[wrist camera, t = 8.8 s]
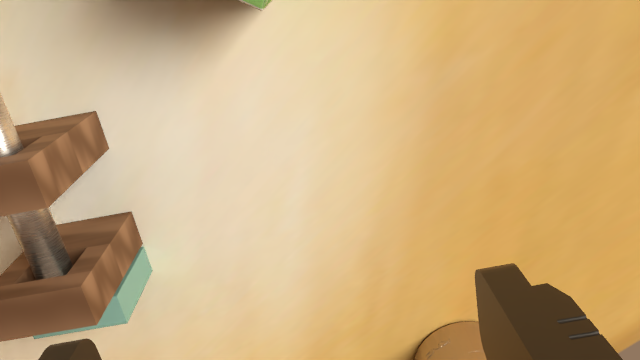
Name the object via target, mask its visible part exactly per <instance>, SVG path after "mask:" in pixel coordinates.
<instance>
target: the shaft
mask: <svg viewBox="0 0 640 360" xmlns="http://www.w3.org/2000/svg"><path fill="white" fill-rule="evenodd" d="M22 149H24V148H23V145H22V143H21V141H20V138H19V136H18V133H17V131H16V129H15V126H14V124H13V122H12V119H11V117H10V114H9V112H8V110H7V107H6V105H5V103H4V100H3V98H2V95H1V93H0V157H5V156H11V155H15V154H17V153H18V152H20V151H21V150H22ZM7 217H8V219H9V221H10V224H11V226H12V228H13V230H14V232H15V235H16V237H17V239H18V241H19V243H20V245H21V248H22V250H23V252H24V254H25V256H26V259H27V261H28V263H29V265H30V267H31V269H32V272H33V274H34V276H35V278H36V280H41V279H47V278H52V277H58V276H64V275H67V273H68V272H69V271H70V269H71V268H72V267H73V264H72V262H71V260H70V257H69V255H68V253H67V250H66V248H65V245H64V243H63V241H62V238H61V236H60V233H59V231H58V229H57V226H56V224H55V222H54V219H53V217H52V214H51V212H50V210H49V207H48V208H45V209H39V210H33V211H28V212H22V213H17V214H11V215H7Z"/></svg>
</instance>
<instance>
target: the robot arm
mask: <svg viewBox="0 0 640 360" xmlns="http://www.w3.org/2000/svg"><path fill="white" fill-rule="evenodd" d="M475 285H476V296H477V308H478V319H479V322H473V321H470V322H458V323H453V324H450V325H447V326H445V327H442V328H440V329H438V330H437V331H435V332H433V333H432V334H431V335H430V336H429V337H427V338H426V339H425V340H424V342H423V343H422V344H421V345H420V347H419V349H418V351H417V353H416V355H415V360H622V358H621V357H620V356H619V355H618V353H617V352H616V351H615V350H614V349H613V347H612V346H611V345H610V344H609V343H608V341H607V340H606V339H605V338H604V336H603V335H600V334H599V330H598V329H597V328H596V327H595V326H594V324H593V323H592V322H591V321H590V320H589V319H587V318H586V315H585V314H584V312H583V311H582V310H581V309H580V308H579V306H578V305H577V304H576V303H575V302H574V300H573V299H572V298H571V297H570V296H568V295H566V294H565V293H563V292H561V291H559V290H558V289H556V288H554V287H553V286H551V285H549V284H547V283H546V284H541V285H535V286H531V285H530V283H529V282H528V281H527V279H526V278H525V277H524V275H523V274H522V272H521V271H520V270H519V268H518V267H517V266H516V265H515V264H513V263H512V264H506V265H501V266H495V267H490V268H484V269H478V270H476V272H475ZM39 360H102V359H101V357H100V355H99V352H98V350H97V348H96V346H95V344H94V343H93V342H92V341H91V340H90V339H82V340H76V341H71V342H65V343H60V344H54V345H50V346H49V347H47V348H46V350H45V351H44V352H43V354H42V355H41V357H40V358H39Z"/></svg>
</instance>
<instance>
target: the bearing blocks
mask: <svg viewBox="0 0 640 360" xmlns="http://www.w3.org/2000/svg"><path fill="white" fill-rule="evenodd" d="M15 129H16V131H17V133H18V136H19V138H20V141H21V143H22V145H23V148H24V149H22V150H21V151H20V152H18V153H17V154H15V155H11V156H5V157H0V216H5V215H11V214H17V213H22V212H28V211H33V210H39V209H45V208H48V207H49V206H50V205H51V204H52V203H53V202H54V201H55V200H56V199H57V198H58V197H59V196H61V195H62V194H63V193H64V192H65V191H66V190H67V189H68V188H69V187H70V186H71V185H72V184H73V183H74V182H75V181H76V180H77V179H78V178H79V177H80V176H81V175H82V174H83V173H84V172H85V171H86V170H87V169H88V168H89V167H90V166H91V165H93V164H94V163H95V162H96V161H97V160H98V159H99V158H100V157H101V156H102V155H103V154H104V153H105V152H106V151H107V150H108V149H109V147H108V144H107V141H106V138H105V135H104V133H103V130H102V127H101V124H100V121H99V118H98V116H97V113H96V111H94V112H88V113H83V114H77V115H72V116H66V117H61V118H56V119H50V120H45V121H39V122H34V123H28V124H23V125H17V126H15ZM56 226H57V229H58V231H59V233H60V236H61V238H62V241H63V243H64V245H65V248H66V250H67V253H68V255H69V257H70V260H71V262H72V264H73V267H72V268H71V269H70V271H69V272H68V273H67V275H64V276H58V277H52V278H47V279H41V280H36V278H35V276H34V274H33V272H32V269H31V267H30V265H29V263H28V261H27V259H26V256H25V254H24V252H23V253H22V254H21V255H20V256H19V257H18V258H17V259H16V260H15V261H14V262H13V263H12V264H11V265H10V266H9V267H8V268H7V269H6V271H5V272H4V273H3V274H2V275H1V276H0V342H1V341H7V340H12V339H18V338H24V337H30V336H36V335H42V334H48V333H53V332H59V331H65V330H71V329H77V328H83V327H89V326H95V325H97V324H98V322H99V321H100V319H101V317H102V315H103V313H104V312H105V310H106V308H107V306H108V304H109V303H110V301H111V299H112V297H113V296H114V294H115V292H116V290H117V288H118V287H119V285H120V283H121V281H122V279H123V278H124V276H125V274H126V272H127V271H128V269H129V267H130V265H131V263H132V262H133V260H134V258H135V256H136V254H137V253H138V251H139V249H140V247H141V246H142V244H143V243H142V240H141V238H140V235H139V232H138V229H137V226H136V223H135V221H134V218H133V215H132V212H127V213H121V214H115V215H110V216H104V217H98V218H93V219H87V220H82V221H76V222H70V223H65V224H59V225H56Z"/></svg>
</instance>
